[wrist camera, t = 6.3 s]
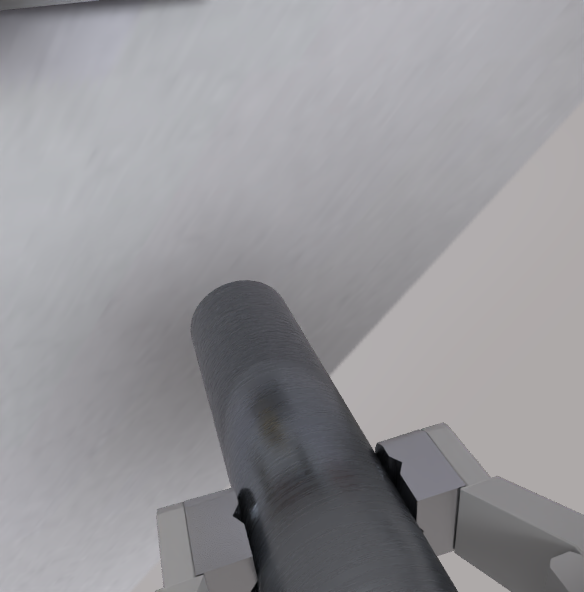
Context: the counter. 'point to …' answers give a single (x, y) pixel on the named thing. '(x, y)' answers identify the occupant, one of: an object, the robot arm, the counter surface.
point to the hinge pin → (301, 458)
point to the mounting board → (33, 3)
